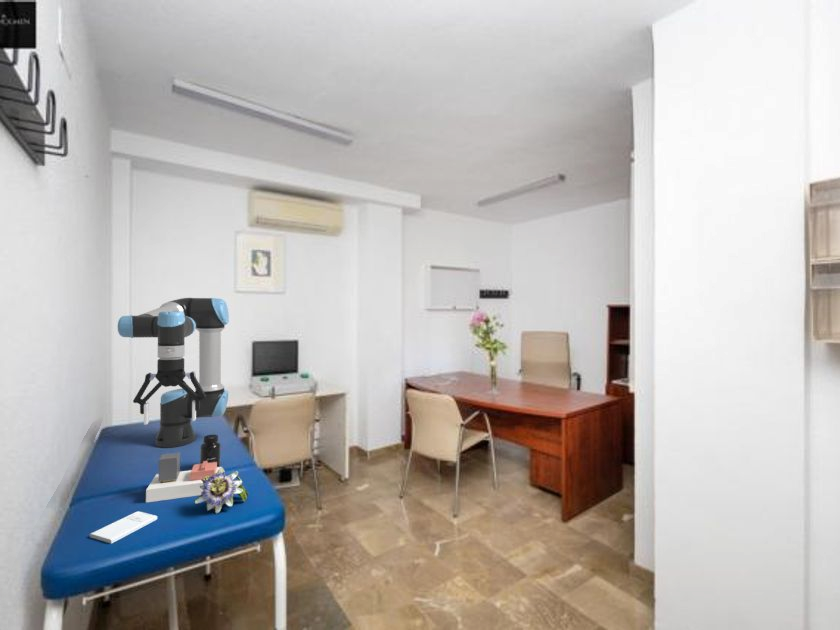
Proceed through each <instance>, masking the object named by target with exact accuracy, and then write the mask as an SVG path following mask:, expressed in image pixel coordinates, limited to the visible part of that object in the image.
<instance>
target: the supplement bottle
mask: <svg viewBox="0 0 840 630" xmlns="http://www.w3.org/2000/svg"><path fill="white" fill-rule="evenodd" d="M221 445H222V444H221V443H220V442H219V435H218V434H208V435H205V436H203V443H202V444H201V445H200V451H199V452H200V453H199V464H203V461H207V463H213V462H217V467H221V448H222V447H221Z"/></svg>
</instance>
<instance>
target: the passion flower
mask: <svg viewBox="0 0 840 630" xmlns="http://www.w3.org/2000/svg"><path fill="white" fill-rule="evenodd" d="M236 479H237V480H236ZM201 480H202V481H203V485H201V486H200V488H201V489H203V490H204V491H203V492H201V495H198V497H196V498H195V500H193V504H201V503H203V502H205V503H206V511H207V512H208V511H211V510H214V512H215V514H219V513H220V512H221V509H222V507H223V505H226V506H227V507H230V508H232V507H233V504H234V496H235V495H238V497H240V498H241V500H242V502H246V501H247V498H248V497H247V496H249V492H248V491H247V490H246V489H245V487H244V486H243V485H242V483H243V481H242V480H243V479H241V478H240V477H239V472H238V471H234V472H231V473H230V474H227V473H226V472H225V469H224V468H223V467H222V468H220V469H219V470H218V472H217V473H215V474H214V475H213V476H210V477H209V476H206V477H205V480H203V479H202V478H201Z"/></svg>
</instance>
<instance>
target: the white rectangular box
mask: <svg viewBox="0 0 840 630" xmlns="http://www.w3.org/2000/svg"><path fill="white" fill-rule="evenodd" d="M220 468H223V466H219V467H217V470H216V473H217V472H218V470H219V469H220ZM191 470H192V469H189V470H184V471H183V470H182V471H181V470H180V474H179V475H178V477H177V479H176V481H175V482H167V483H163V481H159V473H156V474H155V475H154V477H153V478H152V480H151V482H150V483H149V485H148V487H146V490H145V503H152V502H159V501H168V500H175V499H181V498H189V497H197V496H198V497H199V496H200V495H201V492H203V491H204V490H203V489H201V488H200V486H201V485H203V481H202V480H201V479H196V480H190V475H191ZM203 480H205V479H203Z"/></svg>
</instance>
